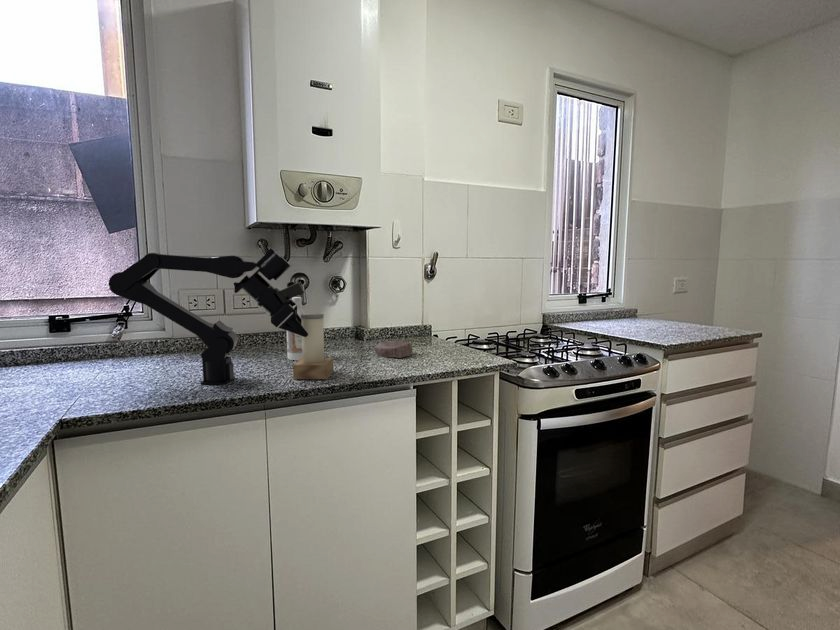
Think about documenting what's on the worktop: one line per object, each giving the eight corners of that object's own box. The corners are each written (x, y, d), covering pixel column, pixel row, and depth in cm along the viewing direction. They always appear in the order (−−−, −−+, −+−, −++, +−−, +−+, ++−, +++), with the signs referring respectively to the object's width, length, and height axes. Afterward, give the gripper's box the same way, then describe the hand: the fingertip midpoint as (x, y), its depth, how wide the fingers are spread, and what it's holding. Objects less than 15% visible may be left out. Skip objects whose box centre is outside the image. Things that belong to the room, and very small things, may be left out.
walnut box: (293, 379, 117) (293, 365, 117) (302, 371, 126) (301, 357, 126) (327, 379, 117) (326, 365, 117) (333, 371, 126) (333, 357, 126)
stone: (370, 355, 148) (370, 342, 147) (388, 352, 155) (388, 338, 155) (397, 360, 141) (397, 345, 140) (414, 356, 148) (414, 342, 147)
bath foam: (291, 362, 138) (289, 298, 135) (284, 357, 143) (282, 297, 141) (312, 359, 141) (310, 297, 139) (305, 355, 147) (303, 296, 145)
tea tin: (298, 363, 119) (296, 315, 117) (309, 358, 125) (307, 313, 123) (318, 364, 117) (316, 316, 116) (328, 359, 123) (327, 313, 122)
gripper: (283, 272, 107) (329, 316, 111) (287, 270, 125) (326, 308, 129) (250, 304, 106) (298, 347, 110) (258, 298, 124) (299, 335, 128)
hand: (307, 333), depth 120 cm, fingers open, 9 cm apart
